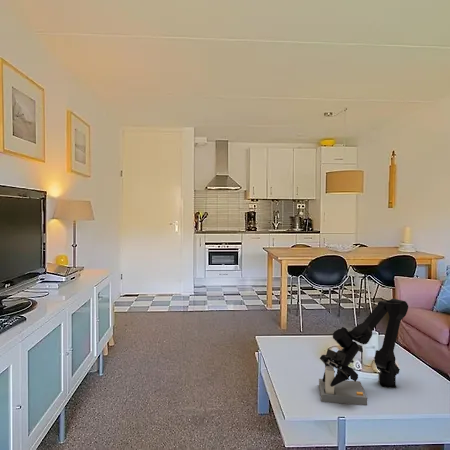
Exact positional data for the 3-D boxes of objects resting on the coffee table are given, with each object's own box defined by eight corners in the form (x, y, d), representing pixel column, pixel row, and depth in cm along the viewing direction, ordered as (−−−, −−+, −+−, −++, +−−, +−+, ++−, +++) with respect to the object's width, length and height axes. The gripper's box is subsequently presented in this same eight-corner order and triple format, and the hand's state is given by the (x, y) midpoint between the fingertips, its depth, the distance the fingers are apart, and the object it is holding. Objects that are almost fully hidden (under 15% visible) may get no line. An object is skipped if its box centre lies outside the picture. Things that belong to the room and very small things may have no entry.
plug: (333, 397, 169) (333, 366, 168) (334, 400, 165) (334, 369, 165) (325, 396, 169) (325, 365, 169) (325, 400, 166) (325, 368, 166)
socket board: (360, 387, 177) (360, 379, 177) (367, 405, 162) (367, 395, 161) (318, 385, 180) (318, 376, 180) (321, 401, 164) (321, 392, 164)
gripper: (323, 336, 177) (302, 364, 172) (352, 349, 160) (330, 381, 155) (337, 351, 180) (317, 379, 176) (367, 365, 163) (346, 397, 159)
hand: (327, 383), depth 167 cm, fingers closed on plug, 5 cm apart
